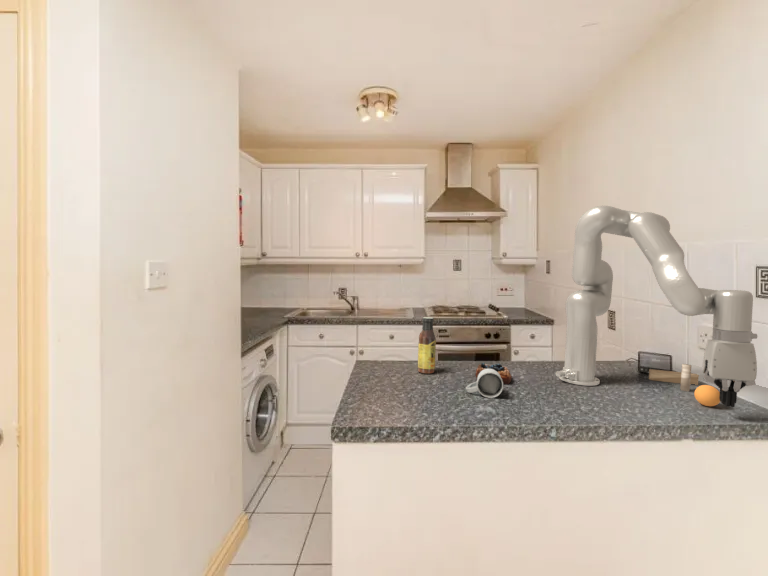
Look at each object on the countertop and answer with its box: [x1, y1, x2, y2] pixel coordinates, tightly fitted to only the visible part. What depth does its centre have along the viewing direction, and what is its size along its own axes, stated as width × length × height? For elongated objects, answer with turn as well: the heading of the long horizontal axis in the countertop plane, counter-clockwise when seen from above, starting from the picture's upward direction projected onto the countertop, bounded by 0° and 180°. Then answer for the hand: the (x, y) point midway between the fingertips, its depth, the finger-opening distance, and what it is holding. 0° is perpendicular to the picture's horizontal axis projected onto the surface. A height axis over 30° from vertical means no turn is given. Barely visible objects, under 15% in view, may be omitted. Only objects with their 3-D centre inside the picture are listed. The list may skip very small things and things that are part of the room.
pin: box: [679, 363, 692, 392], centre depth 124 cm, size 2×2×8 cm
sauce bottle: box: [417, 316, 437, 375], centre depth 137 cm, size 7×6×20 cm
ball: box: [693, 384, 721, 407], centre depth 110 cm, size 6×6×6 cm
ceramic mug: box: [465, 369, 504, 399], centre depth 116 cm, size 11×8×8 cm
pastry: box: [475, 362, 513, 385], centre depth 131 cm, size 11×12×6 cm
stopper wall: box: [648, 368, 700, 386], centre depth 134 cm, size 2×14×4 cm, turn 71°
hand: (727, 404), depth 101 cm, fingers closed
